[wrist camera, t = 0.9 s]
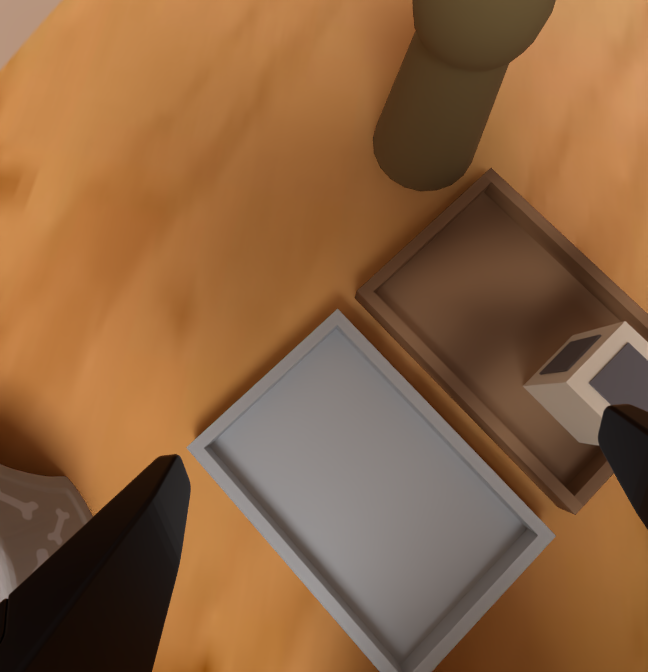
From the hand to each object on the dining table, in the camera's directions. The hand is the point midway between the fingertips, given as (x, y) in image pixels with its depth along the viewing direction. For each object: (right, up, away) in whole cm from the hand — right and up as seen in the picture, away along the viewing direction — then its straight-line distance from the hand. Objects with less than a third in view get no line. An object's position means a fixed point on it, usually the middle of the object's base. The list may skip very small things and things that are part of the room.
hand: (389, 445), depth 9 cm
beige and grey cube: (+12, 0, +13) cm, 18 cm away
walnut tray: (+9, +2, +14) cm, 17 cm away
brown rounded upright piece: (+5, +14, +16) cm, 22 cm away
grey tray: (+1, -5, +13) cm, 14 cm away
